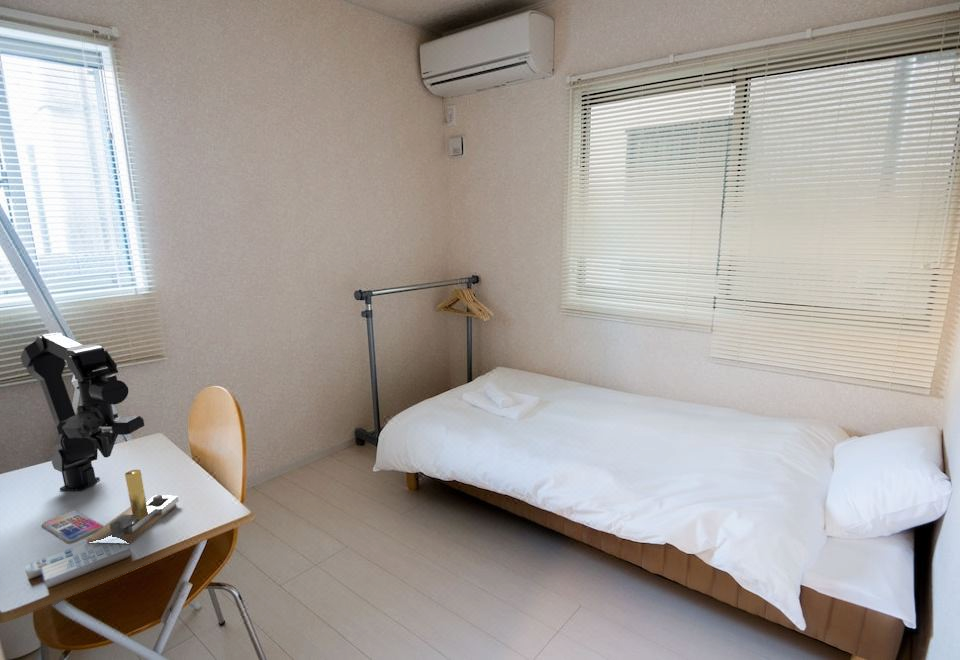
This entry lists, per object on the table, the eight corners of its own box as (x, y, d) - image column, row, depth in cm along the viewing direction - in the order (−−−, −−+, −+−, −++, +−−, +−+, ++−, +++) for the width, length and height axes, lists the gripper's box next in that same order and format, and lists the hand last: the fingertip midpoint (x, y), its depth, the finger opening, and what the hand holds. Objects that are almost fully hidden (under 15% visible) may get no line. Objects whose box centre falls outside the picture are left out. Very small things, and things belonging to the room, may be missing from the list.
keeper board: (87, 543, 117) (83, 525, 116) (138, 504, 132) (136, 489, 131) (129, 544, 116) (126, 527, 115) (176, 505, 131) (173, 489, 130)
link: (156, 500, 131) (148, 454, 129) (178, 501, 131) (171, 455, 128) (115, 532, 118) (105, 482, 116) (140, 533, 118) (130, 482, 115)
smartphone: (75, 509, 130) (105, 525, 122) (76, 512, 130) (106, 529, 123) (39, 523, 124) (68, 541, 116) (40, 527, 124) (69, 545, 116)
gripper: (30, 409, 121) (44, 471, 124) (105, 409, 119) (117, 472, 122) (71, 393, 132) (82, 451, 135) (140, 393, 130) (150, 451, 133)
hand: (107, 456), depth 131 cm, fingers closed
